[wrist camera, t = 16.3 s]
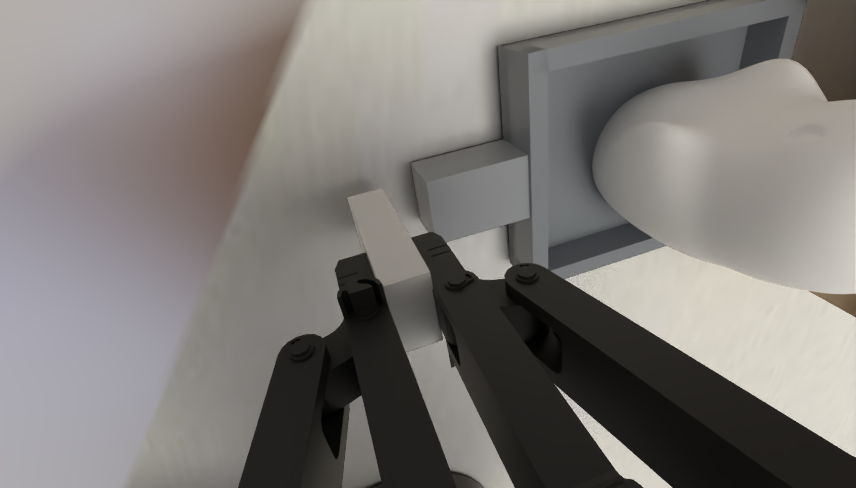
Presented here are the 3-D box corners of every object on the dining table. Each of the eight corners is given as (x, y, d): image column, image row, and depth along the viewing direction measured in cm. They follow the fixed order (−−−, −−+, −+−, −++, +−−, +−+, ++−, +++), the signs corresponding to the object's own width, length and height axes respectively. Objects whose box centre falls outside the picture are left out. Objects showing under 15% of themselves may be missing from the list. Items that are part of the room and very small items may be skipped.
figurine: (704, 32, 20) (1136, 72, 10) (705, 173, 24) (1009, 301, 14) (567, 101, 20) (875, 215, 10) (592, 233, 24) (823, 407, 14)
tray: (432, 286, 23) (449, 316, 21) (393, 68, 17) (410, 79, 15) (708, 200, 26) (747, 219, 24) (753, -10, 21) (809, -10, 18)
